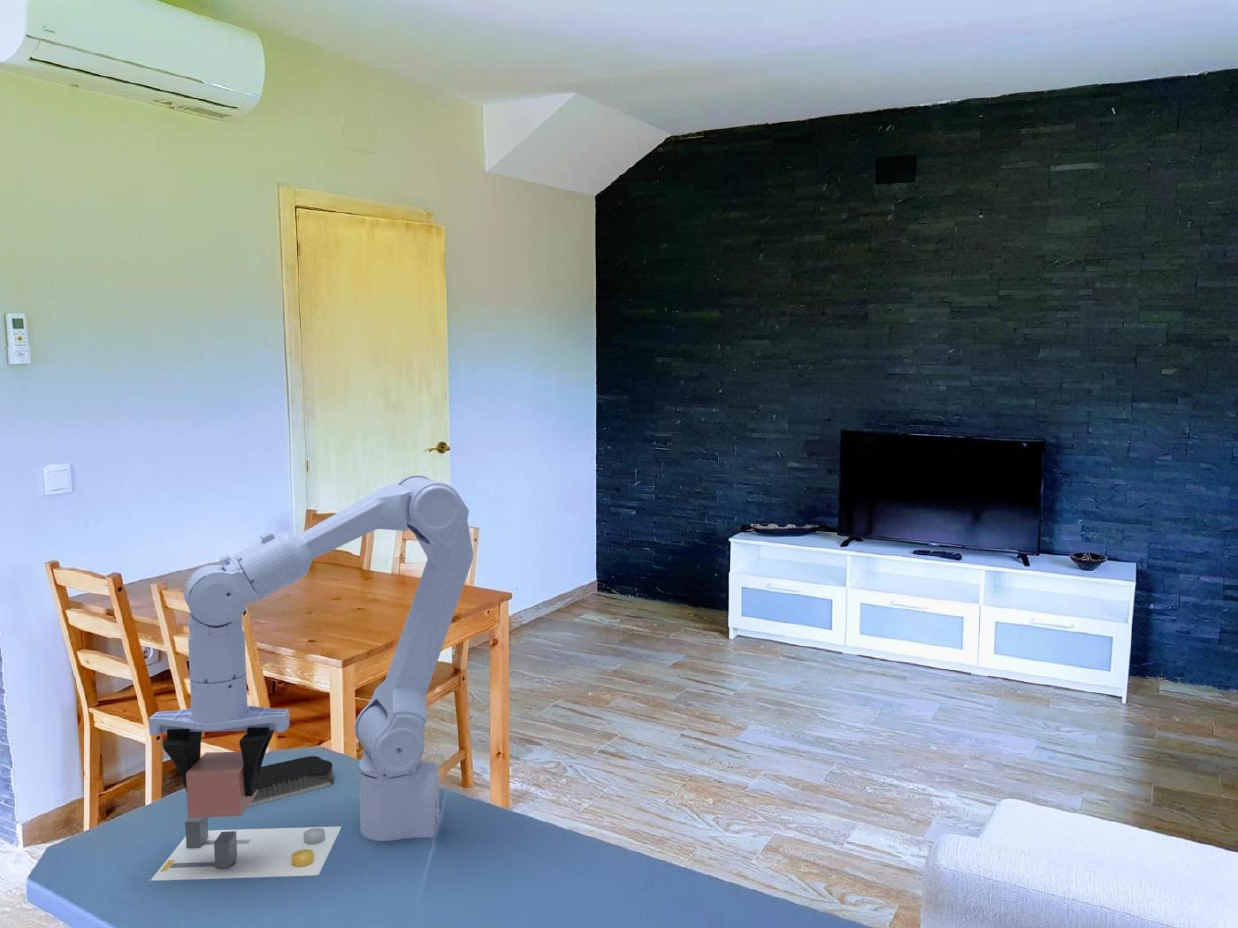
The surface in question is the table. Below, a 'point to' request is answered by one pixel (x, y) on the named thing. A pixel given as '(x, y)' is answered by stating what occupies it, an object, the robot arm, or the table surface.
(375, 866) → the table surface
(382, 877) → the table surface
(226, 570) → the robot arm
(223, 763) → the reddish pink block
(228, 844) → the handle
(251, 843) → the breaker panel
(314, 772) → the black brush
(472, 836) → the table surface
